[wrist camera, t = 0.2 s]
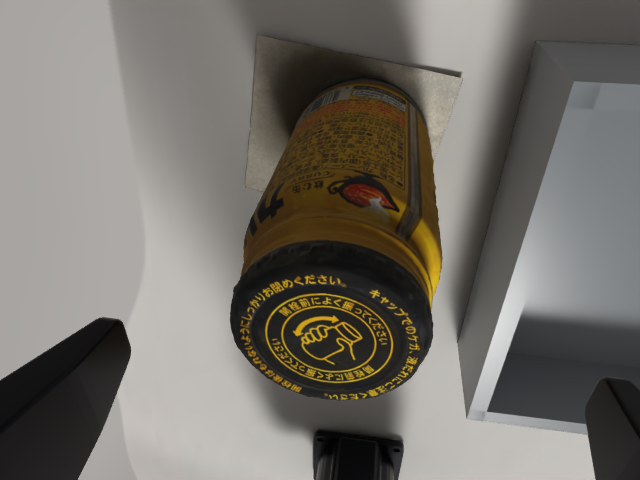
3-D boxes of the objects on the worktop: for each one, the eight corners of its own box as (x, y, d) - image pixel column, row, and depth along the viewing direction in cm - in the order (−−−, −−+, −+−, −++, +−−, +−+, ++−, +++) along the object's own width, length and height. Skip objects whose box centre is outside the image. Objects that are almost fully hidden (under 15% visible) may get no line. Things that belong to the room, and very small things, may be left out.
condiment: (412, 222, 24) (417, 447, 14) (245, 185, 24) (136, 382, 14) (462, 76, 19) (522, 254, 10) (258, 32, 19) (113, 164, 10)
